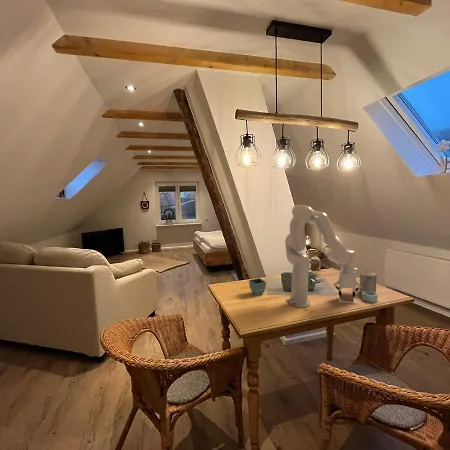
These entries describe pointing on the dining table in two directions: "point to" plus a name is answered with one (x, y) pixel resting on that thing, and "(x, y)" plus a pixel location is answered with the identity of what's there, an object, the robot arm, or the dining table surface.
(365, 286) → the pillar candle
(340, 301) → the mat
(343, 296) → the board
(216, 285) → the dining table surface
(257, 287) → the flower pot
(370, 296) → the bowl
